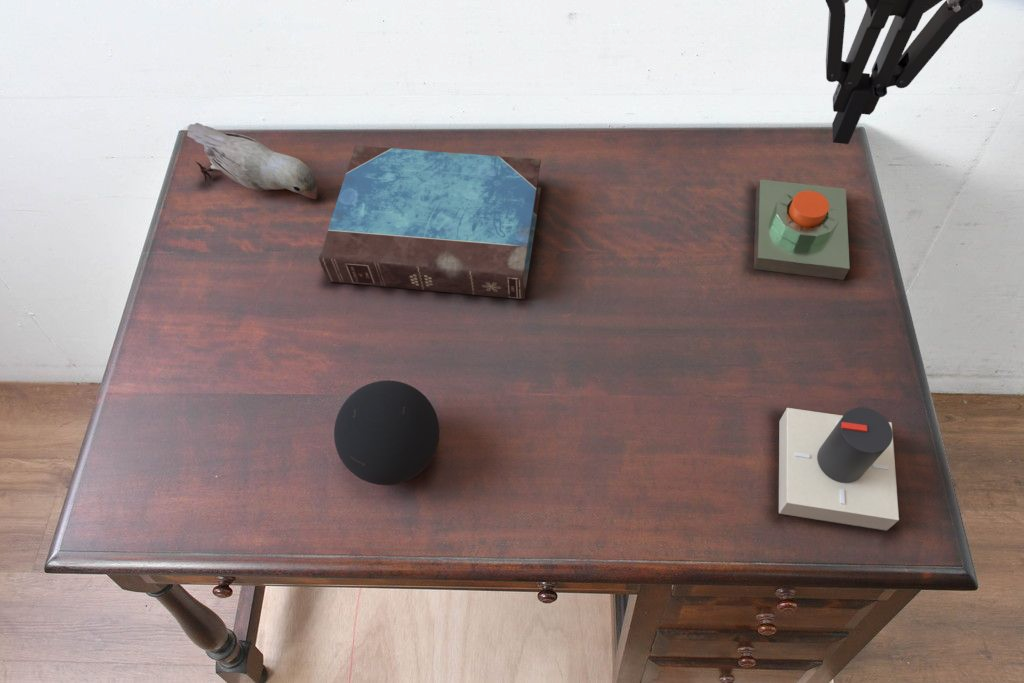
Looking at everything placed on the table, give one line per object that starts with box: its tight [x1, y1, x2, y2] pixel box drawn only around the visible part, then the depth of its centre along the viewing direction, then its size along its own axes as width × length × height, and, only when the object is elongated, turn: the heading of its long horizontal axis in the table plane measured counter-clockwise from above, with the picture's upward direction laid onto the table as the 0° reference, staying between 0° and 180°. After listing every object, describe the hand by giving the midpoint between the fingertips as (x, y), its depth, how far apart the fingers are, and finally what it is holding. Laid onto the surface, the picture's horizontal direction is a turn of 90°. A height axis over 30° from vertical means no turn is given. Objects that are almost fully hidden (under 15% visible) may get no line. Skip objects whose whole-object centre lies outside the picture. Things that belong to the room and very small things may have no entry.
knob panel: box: [778, 407, 900, 531], centre depth 77 cm, size 10×10×3 cm
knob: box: [817, 406, 894, 483], centre depth 72 cm, size 4×4×7 cm
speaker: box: [333, 380, 440, 486], centre depth 76 cm, size 10×10×10 cm
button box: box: [753, 179, 851, 281], centre depth 92 cm, size 12×10×4 cm
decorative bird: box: [186, 122, 318, 200], centre depth 98 cm, size 5×16×8 cm, turn 70°
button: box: [789, 191, 829, 227], centre depth 90 cm, size 4×4×2 cm
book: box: [318, 145, 542, 300], centre depth 93 cm, size 23×18×5 cm
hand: (840, 133), depth 80 cm, fingers closed
